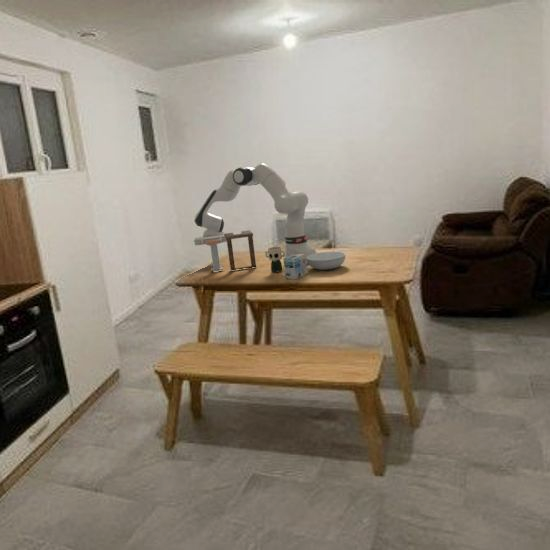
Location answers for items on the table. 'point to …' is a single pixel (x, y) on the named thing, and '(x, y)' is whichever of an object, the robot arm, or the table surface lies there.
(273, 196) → the robot arm
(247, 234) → the brown wooden frame rack
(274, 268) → the character mug
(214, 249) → the hanging peg
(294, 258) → the light bulb box
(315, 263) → the serving bowl
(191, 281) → the table surface
